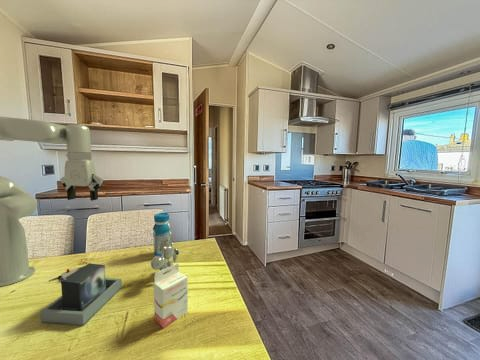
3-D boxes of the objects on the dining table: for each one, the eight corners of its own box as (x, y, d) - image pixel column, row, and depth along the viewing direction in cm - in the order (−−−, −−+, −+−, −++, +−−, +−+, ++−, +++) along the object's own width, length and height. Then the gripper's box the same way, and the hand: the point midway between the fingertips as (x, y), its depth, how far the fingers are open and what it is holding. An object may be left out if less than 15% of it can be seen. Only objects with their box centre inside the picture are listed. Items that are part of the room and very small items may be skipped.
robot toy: (161, 290, 74) (160, 250, 72) (147, 287, 76) (145, 248, 74) (183, 269, 88) (182, 235, 87) (170, 266, 90) (169, 233, 88)
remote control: (101, 270, 88) (100, 264, 87) (51, 288, 76) (51, 281, 75) (96, 265, 92) (95, 259, 91) (48, 281, 80) (47, 274, 79)
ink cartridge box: (163, 329, 58) (161, 280, 56) (154, 320, 61) (152, 273, 59) (188, 311, 64) (187, 267, 62) (179, 304, 67) (178, 261, 66)
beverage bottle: (161, 260, 96) (159, 218, 93) (150, 255, 100) (148, 215, 98) (175, 252, 103) (174, 213, 101) (164, 248, 107) (163, 211, 105)
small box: (81, 315, 62) (78, 282, 61) (61, 313, 62) (58, 280, 61) (107, 292, 72) (105, 263, 71) (90, 290, 73) (88, 262, 72)
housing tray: (41, 322, 60) (39, 311, 59) (88, 285, 76) (87, 277, 76) (83, 325, 59) (82, 314, 58) (121, 287, 75) (121, 278, 75)
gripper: (50, 156, 79) (54, 200, 81) (93, 157, 77) (96, 202, 79) (68, 156, 86) (71, 197, 88) (107, 157, 85) (109, 198, 87)
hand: (83, 199), depth 84 cm, fingers open, 9 cm apart
